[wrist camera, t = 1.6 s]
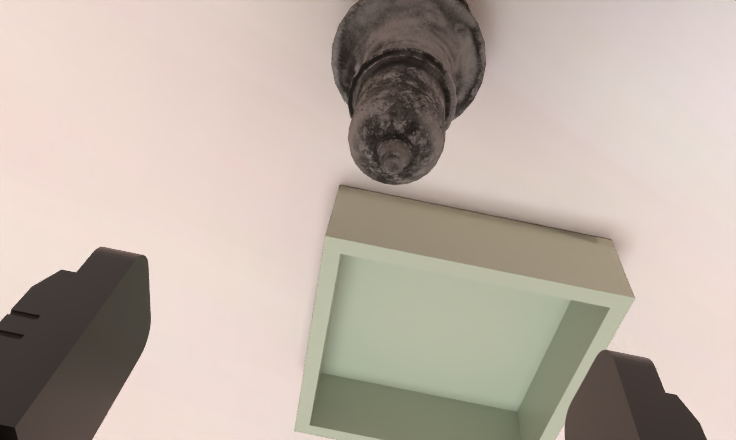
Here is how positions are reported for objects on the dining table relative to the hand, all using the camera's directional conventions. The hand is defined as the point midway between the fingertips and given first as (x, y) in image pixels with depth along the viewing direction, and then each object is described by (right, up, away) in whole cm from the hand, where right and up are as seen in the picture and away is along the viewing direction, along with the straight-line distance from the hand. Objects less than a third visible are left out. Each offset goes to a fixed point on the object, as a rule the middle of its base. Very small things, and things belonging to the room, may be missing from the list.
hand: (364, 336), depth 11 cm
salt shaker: (+2, +10, +15) cm, 18 cm away
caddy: (+4, -3, +23) cm, 24 cm away
